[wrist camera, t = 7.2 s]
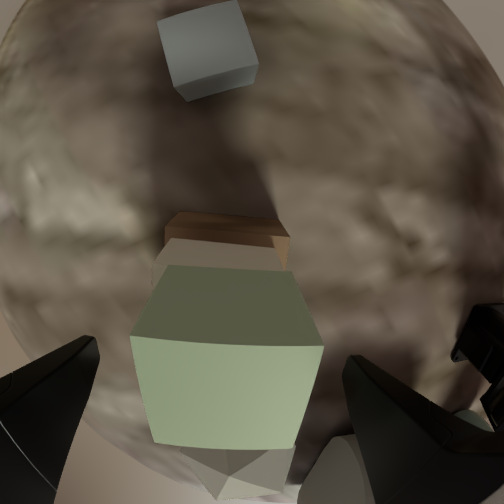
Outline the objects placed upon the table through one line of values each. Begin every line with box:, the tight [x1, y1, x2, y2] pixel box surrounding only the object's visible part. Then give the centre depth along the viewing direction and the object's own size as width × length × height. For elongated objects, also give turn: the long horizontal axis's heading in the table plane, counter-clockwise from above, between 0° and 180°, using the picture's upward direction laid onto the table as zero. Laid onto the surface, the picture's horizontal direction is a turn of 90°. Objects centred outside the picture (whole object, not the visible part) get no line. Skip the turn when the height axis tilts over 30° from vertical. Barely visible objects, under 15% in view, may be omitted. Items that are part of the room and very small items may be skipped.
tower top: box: [152, 238, 284, 293], centre depth 13 cm, size 5×5×4 cm
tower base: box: [164, 211, 290, 271], centre depth 16 cm, size 6×6×4 cm
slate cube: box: [157, 0, 259, 102], centre depth 12 cm, size 4×4×4 cm
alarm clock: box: [297, 434, 375, 504], centre depth 21 cm, size 21×10×13 cm, turn 173°
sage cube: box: [130, 265, 324, 450], centre depth 9 cm, size 4×4×4 cm
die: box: [179, 444, 296, 500], centre depth 19 cm, size 8×9×10 cm
